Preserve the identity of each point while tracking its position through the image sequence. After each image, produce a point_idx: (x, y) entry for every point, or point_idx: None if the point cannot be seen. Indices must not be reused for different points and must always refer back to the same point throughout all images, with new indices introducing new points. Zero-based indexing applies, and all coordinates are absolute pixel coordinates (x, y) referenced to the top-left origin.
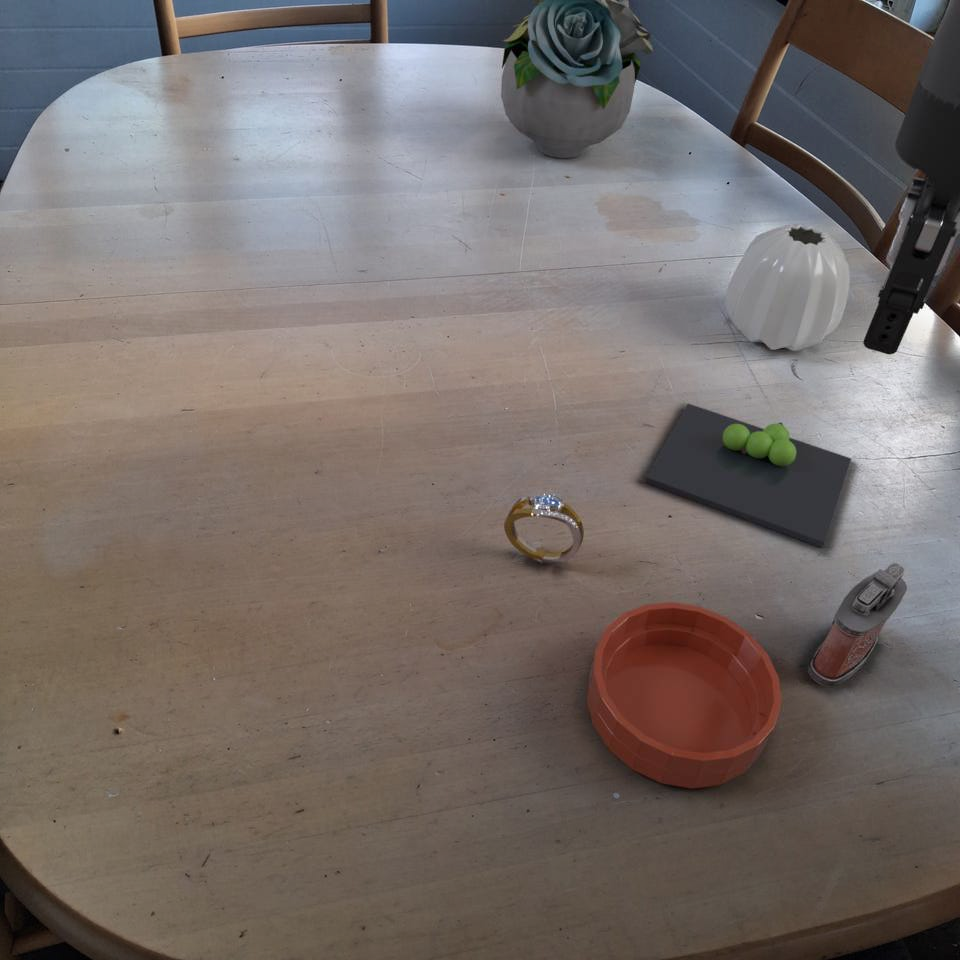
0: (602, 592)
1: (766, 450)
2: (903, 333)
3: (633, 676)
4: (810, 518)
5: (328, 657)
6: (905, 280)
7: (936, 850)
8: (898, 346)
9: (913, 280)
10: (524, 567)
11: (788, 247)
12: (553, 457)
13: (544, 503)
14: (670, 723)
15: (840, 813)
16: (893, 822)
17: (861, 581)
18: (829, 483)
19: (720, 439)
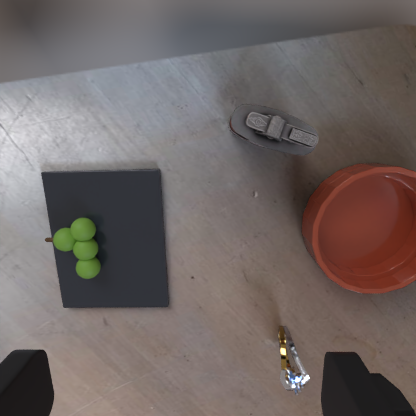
0: (287, 292)
1: (91, 242)
2: (389, 405)
3: (352, 253)
4: (138, 186)
5: (408, 399)
6: (21, 410)
7: (398, 35)
8: (364, 366)
9: (11, 398)
10: None
11: None
12: (181, 364)
13: (297, 381)
14: (378, 221)
15: (395, 102)
16: (388, 67)
17: (257, 143)
18: (86, 182)
19: None
